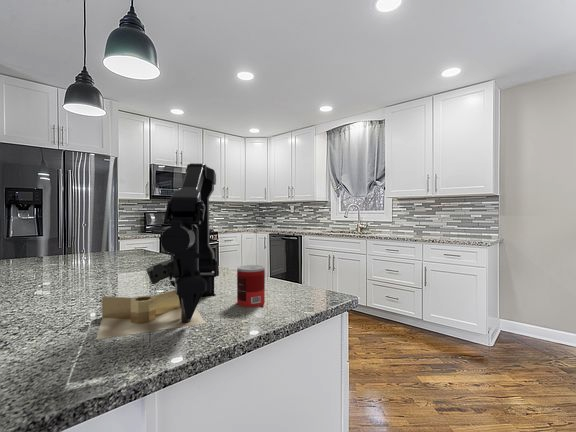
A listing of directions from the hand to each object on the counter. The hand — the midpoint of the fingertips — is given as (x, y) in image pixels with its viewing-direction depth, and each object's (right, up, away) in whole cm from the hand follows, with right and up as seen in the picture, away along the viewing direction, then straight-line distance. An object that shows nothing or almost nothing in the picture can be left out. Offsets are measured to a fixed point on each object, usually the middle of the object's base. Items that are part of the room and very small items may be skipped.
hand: (186, 314), depth 75 cm
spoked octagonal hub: (-12, -2, +3) cm, 12 cm away
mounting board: (-8, -2, +1) cm, 9 cm away
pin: (0, -2, 0) cm, 2 cm away
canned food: (+14, -3, +16) cm, 21 cm away
